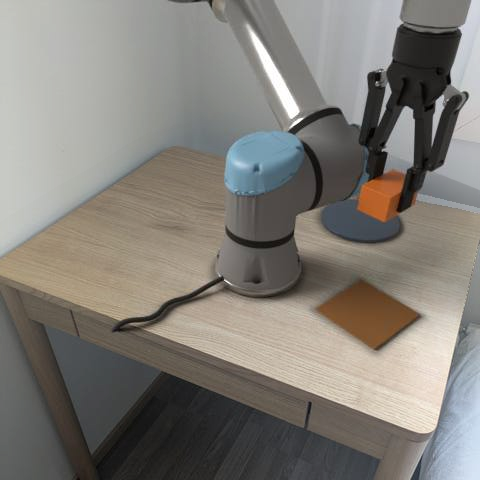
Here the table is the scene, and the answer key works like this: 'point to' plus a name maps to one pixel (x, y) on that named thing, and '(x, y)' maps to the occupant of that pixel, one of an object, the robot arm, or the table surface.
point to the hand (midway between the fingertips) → (387, 201)
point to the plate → (356, 223)
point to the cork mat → (368, 313)
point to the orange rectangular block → (383, 196)
